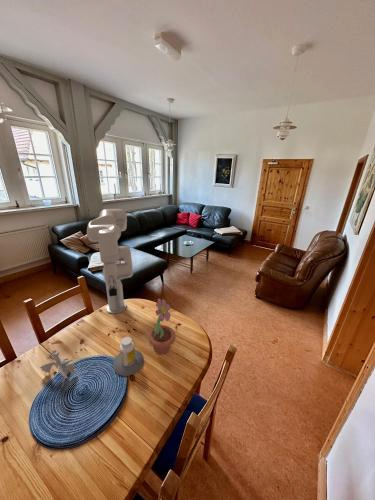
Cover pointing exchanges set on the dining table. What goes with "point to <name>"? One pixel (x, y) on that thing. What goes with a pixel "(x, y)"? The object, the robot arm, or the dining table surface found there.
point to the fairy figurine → (59, 365)
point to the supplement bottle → (127, 351)
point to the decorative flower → (162, 330)
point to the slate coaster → (130, 369)
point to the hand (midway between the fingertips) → (113, 289)
